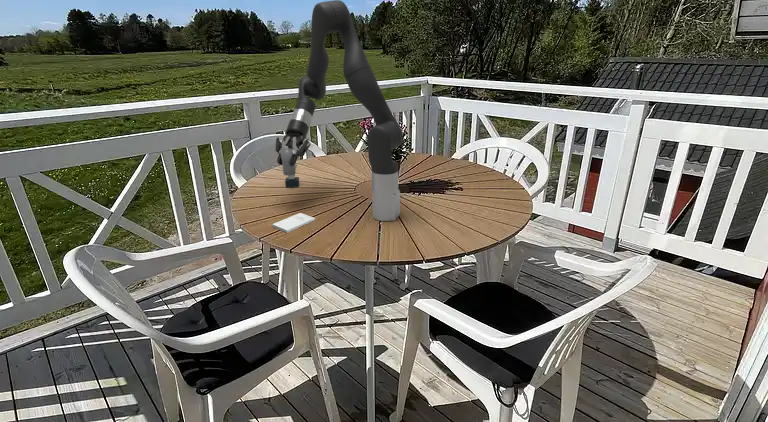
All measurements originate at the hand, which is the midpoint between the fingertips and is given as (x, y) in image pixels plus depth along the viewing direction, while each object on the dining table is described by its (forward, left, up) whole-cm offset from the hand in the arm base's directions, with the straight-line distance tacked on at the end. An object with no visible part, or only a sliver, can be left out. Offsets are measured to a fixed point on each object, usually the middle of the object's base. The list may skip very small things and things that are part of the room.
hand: (285, 164), depth 141 cm
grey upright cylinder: (0, -2, -4) cm, 5 cm away
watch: (+14, -24, -18) cm, 33 cm away
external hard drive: (-7, +10, -19) cm, 23 cm away
